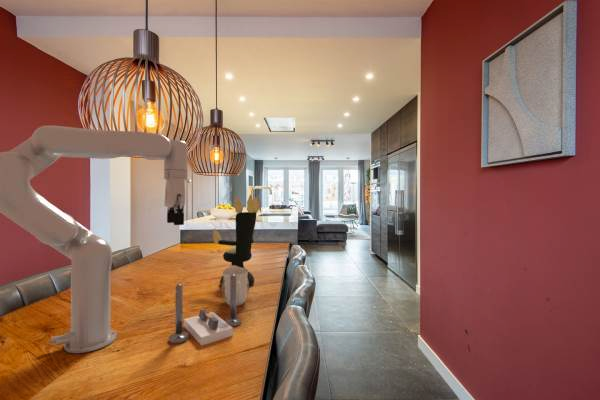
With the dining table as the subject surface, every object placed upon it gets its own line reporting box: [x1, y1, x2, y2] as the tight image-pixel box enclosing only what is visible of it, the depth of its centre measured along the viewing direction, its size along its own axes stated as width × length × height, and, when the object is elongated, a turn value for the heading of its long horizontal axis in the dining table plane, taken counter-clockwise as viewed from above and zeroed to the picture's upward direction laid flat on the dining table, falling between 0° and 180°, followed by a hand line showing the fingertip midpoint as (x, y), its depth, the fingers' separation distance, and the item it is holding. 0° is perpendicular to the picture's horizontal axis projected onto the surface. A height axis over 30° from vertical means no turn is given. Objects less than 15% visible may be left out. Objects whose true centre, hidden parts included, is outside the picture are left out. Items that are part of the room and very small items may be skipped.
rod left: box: [168, 283, 190, 345], centre depth 89 cm, size 6×6×17 cm
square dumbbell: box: [198, 308, 218, 329], centre depth 95 cm, size 2×12×2 cm, turn 39°
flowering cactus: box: [212, 193, 260, 287], centre depth 143 cm, size 19×22×45 cm
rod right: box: [224, 274, 242, 328], centre depth 100 cm, size 6×6×17 cm
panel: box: [183, 311, 234, 347], centre depth 95 cm, size 10×16×3 cm, turn 39°
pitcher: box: [221, 264, 250, 307], centre depth 118 cm, size 11×18×14 cm, turn 21°
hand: (175, 223), depth 103 cm, fingers open, 9 cm apart
